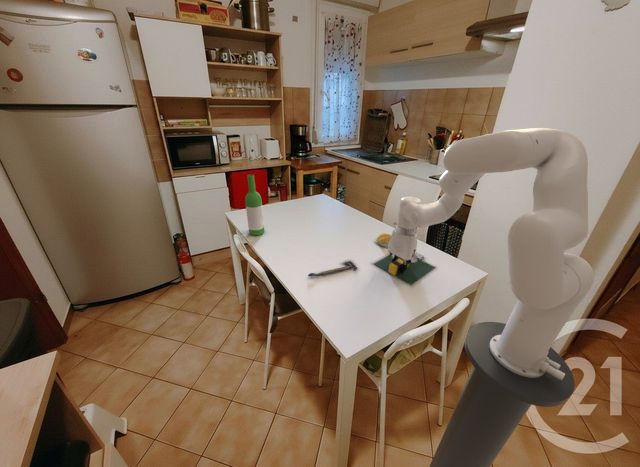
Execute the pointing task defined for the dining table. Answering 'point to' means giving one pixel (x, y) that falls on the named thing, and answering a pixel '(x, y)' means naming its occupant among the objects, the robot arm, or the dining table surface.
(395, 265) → the yellow striped handle
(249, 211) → the wine bottle
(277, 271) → the dining table surface
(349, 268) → the tomahawk
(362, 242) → the dining table surface
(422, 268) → the mat
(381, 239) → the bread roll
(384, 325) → the dining table surface
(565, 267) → the robot arm
